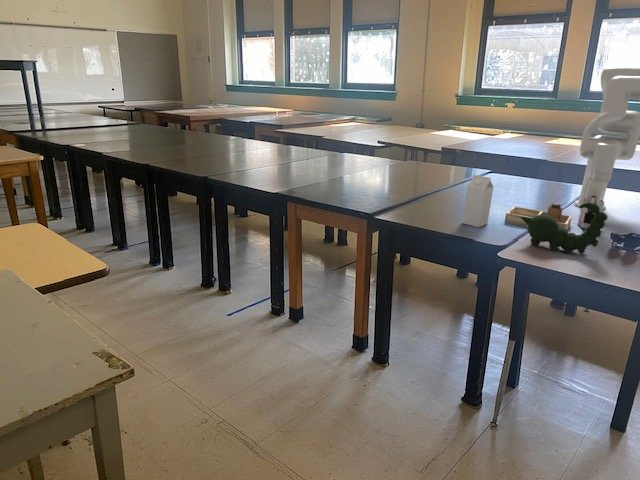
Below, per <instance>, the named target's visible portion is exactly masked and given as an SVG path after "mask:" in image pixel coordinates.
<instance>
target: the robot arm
mask: <svg viewBox="0 0 640 480" xmlns="http://www.w3.org/2000/svg"><path fill="white" fill-rule="evenodd" d="M600 86H601V91H602V103H601V107H600V111H599V115H598V116H596V117H595V118H593V119H592V120H591V121H590V122H589V123H588V124H587V126H586V127H585V128H584V131H583V134H582V137H581V142H580V147H579V155H580V156H581V157H582V158H585V159H587V162H586V168H585V172H584V176H583V181H582V185H581V189H580V194H579V199H578V200H577V199H576V200H575V201H574V205H575V206H576V207H578V208H579V207H580V206H581V205H582V204H583V201H584V198H585V197H586V198H585V202H584V203H593V204H596V205H597V206H599V203H600V201H601V200H602V201H604V199H605V195H606V190H607V186H608V183H610V182H611V179H612V175H613V170H614V167H615V162H616V160H619V161H620V160H621V161H629V160H632V159H633V157H634V155H635V153H636V149H637V145H638V141H639V138H640V112H639V111H637V110H636V111H635V110H628V106H629V101H630V100H639V101H640V66H620V65H619V66H616V65H615V66H608V67H606V68H604V69H603V70H602V71H601V74H600ZM597 129H598V131H600V132H603V133H611V134H621V135H622V134H623V135H625V137H624V136H615V135H605V134H601V135H599V134H598V135H595V136H593V137H592V138H591V135H592V133H593V132H594V131H595V130H597ZM595 199H596V200H595ZM590 201H591V202H590ZM606 208H607V206H606V204H604V206H603V210H605V209H606ZM594 216H595V214H594V213H593V212H591V210H590V209H588V208H587V211H586V213H585V217H584V221H583V222H584V223H588V224H590V223H591V220H593V219H594Z"/></svg>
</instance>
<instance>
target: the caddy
mask: <svg viewBox="0 0 640 480" xmlns="http://www.w3.org/2000/svg"><path fill="white" fill-rule="evenodd" d="M563 209H564V208H563V207H562V205H561V204H560V203H555V202H553V203H551V205H549V206H548V208H547V211H543V210H538V209H534V208H527V207H521V206H516V205H514V206H512V207H511V208H510V209H509V210H508V211H507V212H506V213H505V219H504V223H507V224H510V225H517V226H521V225H522V227H526V226H528V225H527V224H526V223H525V222H524V221H523V220H522V218H521V217H530V218H533V217H535V216H537V215H543V214H544V215H549V216H551V217H553V218H554V219H555V220H556V221H557V223H558V226H559V227H562V228H564V229H566V230H567V231H568V229H569V228H570V226H571V221H572V218H573V216H572V215H566V214H563Z"/></svg>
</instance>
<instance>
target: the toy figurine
mask: <svg viewBox="0 0 640 480" xmlns="http://www.w3.org/2000/svg"><path fill="white" fill-rule="evenodd" d="M578 208H579V209H582V208H588V209H590V210H591V212H593V213H595V216H594V219H593V220H591V223H590V226H588V227H587V229H585V231H584V232H582V233H581V234H575V233H574V232H568V230H566V229H564V228H562V227H559V226H558V223H557V221H556V220H555V219H554V218H553V217H551V216H549V215H544V214H543V215H537V216H535V217H533V218H530V217H521V218H522V220H523V221H524V222H525V223H526V224H527V225H528V227H527V231H528V234H529V237H531V239H530V243H531V244H532V245H534V246H538V245H540V244H541V243H546V242H548V245H549V246H548V247H549V249H550V250H553V251H554V250H556V249H558V248H562V249H563V253H564V254H567V255H568V254H570V253H571V252H573V251H575V250H577V252H578V253H579V254H582V255H583V254H584V253H585V251H586V250H587V247H589V246H592V247H593V248H594V247H597V246H598V244H599V239H597V238H600V237H601V235H602V234H603V231H602V230H601V229H604V228H605V225H606V223H605V222H606V221H607V219H608V215H607V214H606V212H604V211H602V212H599V211H600V209H599V207H598V206H597V205H596V204H593V203H584V204H582V205H581V206H580V207H578ZM562 249H561V250H562Z"/></svg>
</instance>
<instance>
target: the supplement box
mask: <svg viewBox="0 0 640 480" xmlns="http://www.w3.org/2000/svg"><path fill="white" fill-rule="evenodd" d="M585 198H586V197H585ZM585 198H584V201H583V204H584V202H585ZM595 200H596V199H595ZM590 202H591V201H590ZM604 205H605V201H604V200H603V201H602V200H601V201H600V203H599V206H598V207H599V209H600V211H599V212H603V210H604V209H603V206H604ZM586 211H587V208H581V210H580V215H579V217H578V222H577V225H578V227H579V228H581V230H586V229H587V227H588V226H590V224H588V223H584V222H583V221H584V217H585V213H586ZM594 214H595V213H594Z"/></svg>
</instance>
